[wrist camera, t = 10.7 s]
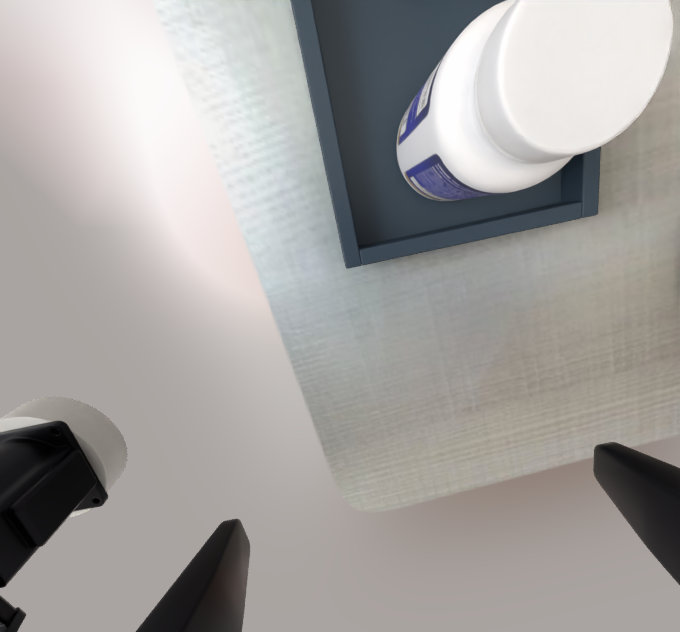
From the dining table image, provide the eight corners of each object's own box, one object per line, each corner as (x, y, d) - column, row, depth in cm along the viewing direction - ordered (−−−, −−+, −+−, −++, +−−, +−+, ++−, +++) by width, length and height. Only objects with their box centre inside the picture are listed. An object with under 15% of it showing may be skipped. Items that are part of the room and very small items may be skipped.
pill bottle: (509, 177, 16) (708, 136, 8) (412, 217, 17) (499, 219, 8) (486, 62, 15) (702, -150, 6) (380, 108, 15) (444, -30, 7)
